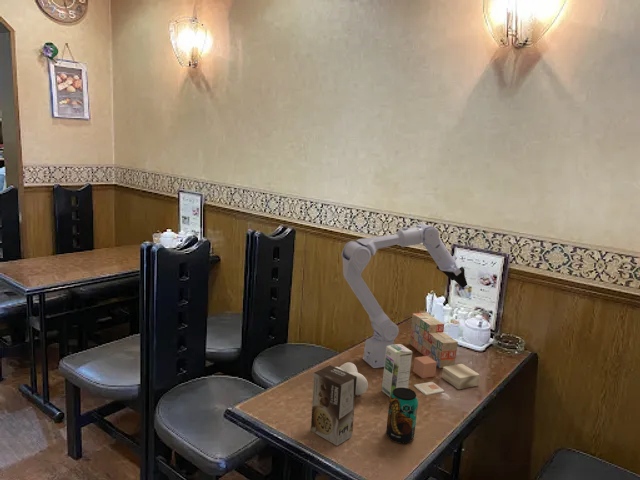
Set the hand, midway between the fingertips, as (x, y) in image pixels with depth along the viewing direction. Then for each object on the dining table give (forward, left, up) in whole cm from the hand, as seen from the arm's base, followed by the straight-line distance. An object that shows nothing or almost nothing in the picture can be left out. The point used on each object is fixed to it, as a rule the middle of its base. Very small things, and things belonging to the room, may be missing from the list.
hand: (459, 282), depth 165 cm
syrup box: (-35, -16, -28) cm, 47 cm away
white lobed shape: (-50, -12, -28) cm, 58 cm away
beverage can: (-46, -35, -28) cm, 64 cm away
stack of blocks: (-6, +4, -28) cm, 29 cm away
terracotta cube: (-18, -8, -28) cm, 34 cm away
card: (-23, -17, -28) cm, 40 cm away
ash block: (-10, -16, -28) cm, 34 cm away
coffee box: (-62, -28, -28) cm, 73 cm away
